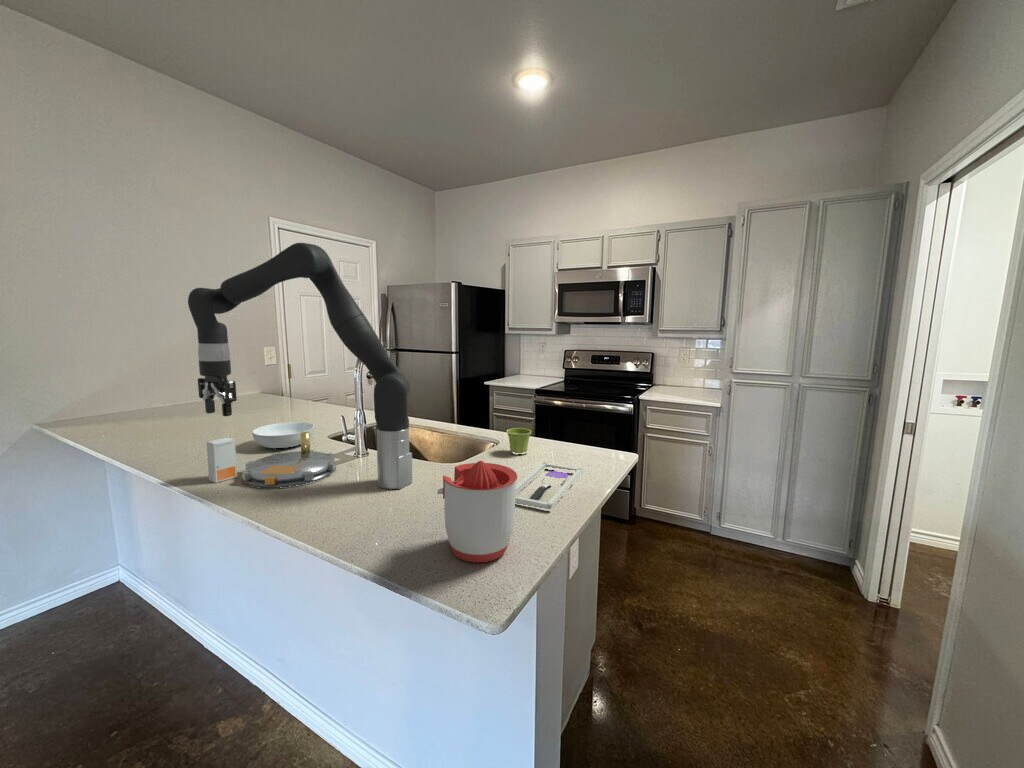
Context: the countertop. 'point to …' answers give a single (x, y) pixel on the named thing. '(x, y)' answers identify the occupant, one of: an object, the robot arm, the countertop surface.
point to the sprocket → (290, 465)
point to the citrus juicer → (479, 510)
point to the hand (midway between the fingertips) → (218, 414)
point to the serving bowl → (281, 434)
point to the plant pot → (518, 439)
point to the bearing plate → (287, 484)
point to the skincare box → (221, 459)
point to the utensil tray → (555, 498)
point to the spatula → (541, 489)
